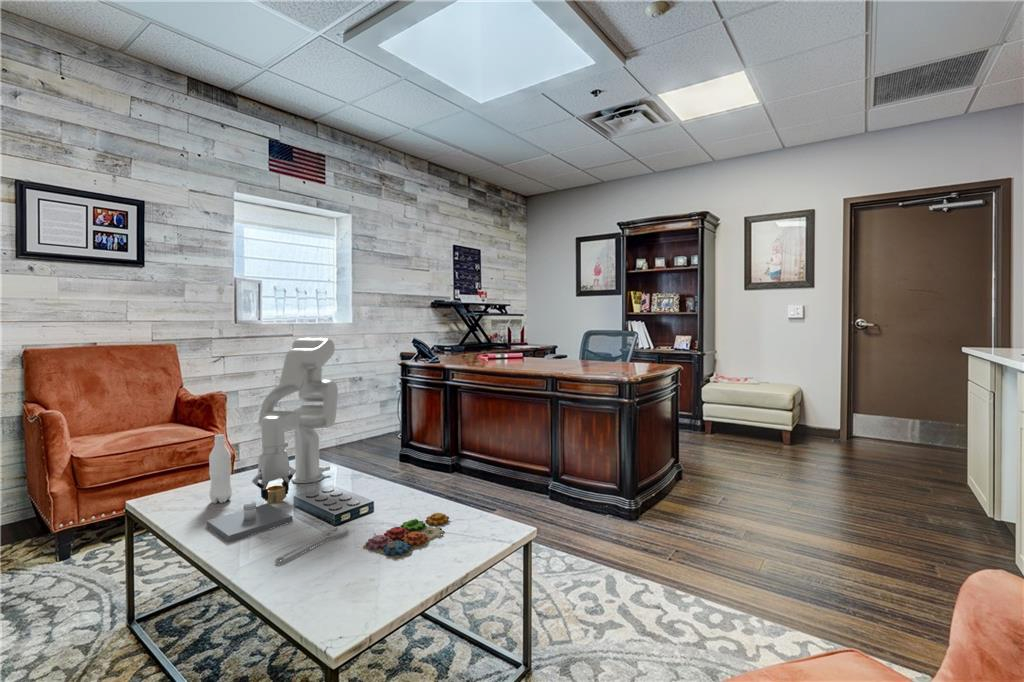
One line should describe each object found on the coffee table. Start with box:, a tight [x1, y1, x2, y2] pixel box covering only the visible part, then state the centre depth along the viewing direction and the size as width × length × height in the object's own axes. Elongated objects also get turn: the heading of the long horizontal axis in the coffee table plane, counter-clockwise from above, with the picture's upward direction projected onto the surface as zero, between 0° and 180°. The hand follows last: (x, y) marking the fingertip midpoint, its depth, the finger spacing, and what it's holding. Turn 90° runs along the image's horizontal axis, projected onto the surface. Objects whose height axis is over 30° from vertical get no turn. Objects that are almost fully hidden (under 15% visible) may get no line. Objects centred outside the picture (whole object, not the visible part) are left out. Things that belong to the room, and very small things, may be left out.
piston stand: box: [206, 500, 294, 543], centre depth 167 cm, size 20×18×7 cm
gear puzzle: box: [362, 512, 450, 560], centre depth 160 cm, size 31×16×4 cm, turn 148°
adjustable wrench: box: [274, 526, 349, 565], centre depth 152 cm, size 25×6×2 cm, turn 148°
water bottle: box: [208, 433, 233, 504], centre depth 188 cm, size 7×7×25 cm
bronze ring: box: [264, 484, 287, 503], centre depth 187 cm, size 7×7×4 cm
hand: (275, 495), depth 187 cm, fingers closed on bronze ring, 6 cm apart
